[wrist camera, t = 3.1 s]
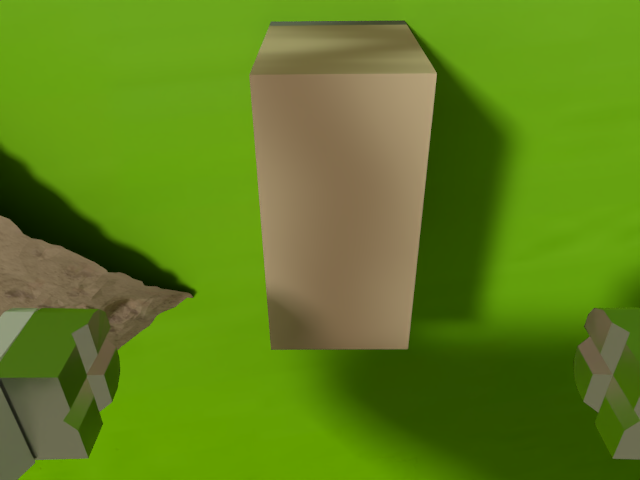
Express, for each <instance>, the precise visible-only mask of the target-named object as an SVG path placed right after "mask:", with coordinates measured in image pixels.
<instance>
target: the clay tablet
mask: <svg viewBox="0 0 640 480" xmlns="http://www.w3.org/2000/svg"><path fill="white" fill-rule="evenodd" d="M187 297H189V298H193V296H192V295H191V294H190V293H187V292H180V291H175V290H168V289H161V288H159V287H157V286H145V285H144V284H143V282H142V281H139V280H136V279H133V278H131V277H130V276H128V275H126V274H124V273H120V272H117V273H112V272H107V270H106V269H105V268H103V267H101V266H100V265H98V264H97V263H95V262H93V261H91V260H89V259H86V258H84V257H82V256H80V255H78V254H76V253H74V252H72V251H69V250H67V249H65V248H63V247H62V246H58V245H52V244H49V243H47V242H45V241H43V240H39V239H33V238H30V237H29V236H27V235H24V234H23V233H22V232H21V230H20V229H19V228H18V227H17V225H15V224H14V223H13V222H12V221H11V220H10V219H8V218H5V217H3V216H0V316H1V315H2V314H3V313H4V312H5V311H7V310H9V309H11V308H40V309H41V308H74V309H101V310H102V311H104V312H106V315H107V318H108V321H109V324H110V327H111V328H110V330H109V332H108V334H107V336H106V339H107V340H109V341H110V342H111V343H112V344H113V345H115V346H116V347H117V350H118V349H119V348H120V347H121V346H122V345H124V344H125V343H127V342H128V341H129V340H130V339H132V338H133V337H134V336H136V335H137V334H138V333H139V332H140V331H142V330H143V329H145V328H146V327H148V326H149V325H150V324H151V323H152V321H153V320H154V318H155V317H156V316H157V315H158V314H160V313H162V312H164V311H166V310H169V309H171V308H174V307H176V306H177V305H178V304H179V303H180V302H182V301H183V300H184V299H186V298H187Z"/></svg>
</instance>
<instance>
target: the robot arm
mask: <svg viewBox="0 0 640 480" xmlns="http://www.w3.org/2000/svg"><path fill="white" fill-rule="evenodd" d="M584 327H585V329H586V330H587V332H588V334H589V335H590V337H589V338H587V339H586V340H585V341H584V342H582V343H581V344H580V345H579V346H578V347H577V350H576V354H575V357H574V361H573V364H574V379H575V383H576V387H577V390H578V392H579V394H580V396H581V398H582V400H583V402H585V403H586V404H587V405H589V406H590V407H591V408H593V409H594V410H595V411H597V412H598V415H597V418H596V420H595V423H594V424H595V426H596V428H597V430H598V432H599V434H600V436H601V437H602V439H603V441H604V443H605V445H606V447H607V449H608V451H609V453H610V455H611V457H612V459H640V308H594V309H593V310H592V311H591V312H590V313H589V314H588V317H587V320H586V323H585V325H584ZM110 328H111V327H110V324H109V321H108V318H107V315H106V312H104V311H102V310H101V309H74V308H41V309H40V308H11V309H9V310H7V311H5V312H4V313H3V314H2V315H1V316H0V480H17V479H18V478H19V477H20V476H22V475H23V474H24V473H25V472H26V471H27V470H28V469H29V468H30V467H31V466H32V465H33V464H34V463H35V460H44V459H80V458H89V456H90V453H91V451H92V449H93V446H94V444H95V441H96V439H97V437H98V434H99V432H100V430H101V427H102V425H103V422H102V419H101V416H100V413H99V412H100V411H101V410H102V409H104V408H105V407H106V406H107V405H109V404H110V403H111V402H112V401H113V398H114V396H115V393H116V391H117V388H118V382H119V376H120V361H119V355H118V351H117V347H116V346H115V345H113V344H112V343H111V342H110V341H109V340H107V339H106V336H107V334H108V332H109V330H110Z"/></svg>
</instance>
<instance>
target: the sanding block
mask: <svg viewBox="0 0 640 480" xmlns="http://www.w3.org/2000/svg"><path fill="white" fill-rule="evenodd" d="M436 78H437V72H436V71H435V69H434V68H433V66H432V64H431V63H430V61H429V60H428V58H427V56H426V55H425V53H424V51H423V50H422V48H421V47H420V45H419V43H418V42H417V40H416V39H415V37H414V35H413V34H412V32H411V30H410V29H409V27H408V26H407V24H406V22H405V21H306V22H271V23H270V26H269V28H268V31H267V33H266V36H265V38H264V40H263V43H262V45H261V48H260V50H259V53H258V55H257V58H256V60H255V63H254V65H253V68H252V70H251V72H250V87H251V99H252V112H253V125H254V138H255V150H256V163H257V176H258V188H259V201H260V214H261V227H262V239H263V252H264V265H265V277H266V290H267V303H268V316H269V328H270V341H271V350H287V349H408V345H409V335H410V326H411V316H412V307H413V297H414V288H415V278H416V269H417V259H418V250H419V240H420V231H421V221H422V212H423V202H424V193H425V183H426V173H427V164H428V154H429V145H430V135H431V126H432V116H433V107H434V97H435V88H436Z"/></svg>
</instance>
